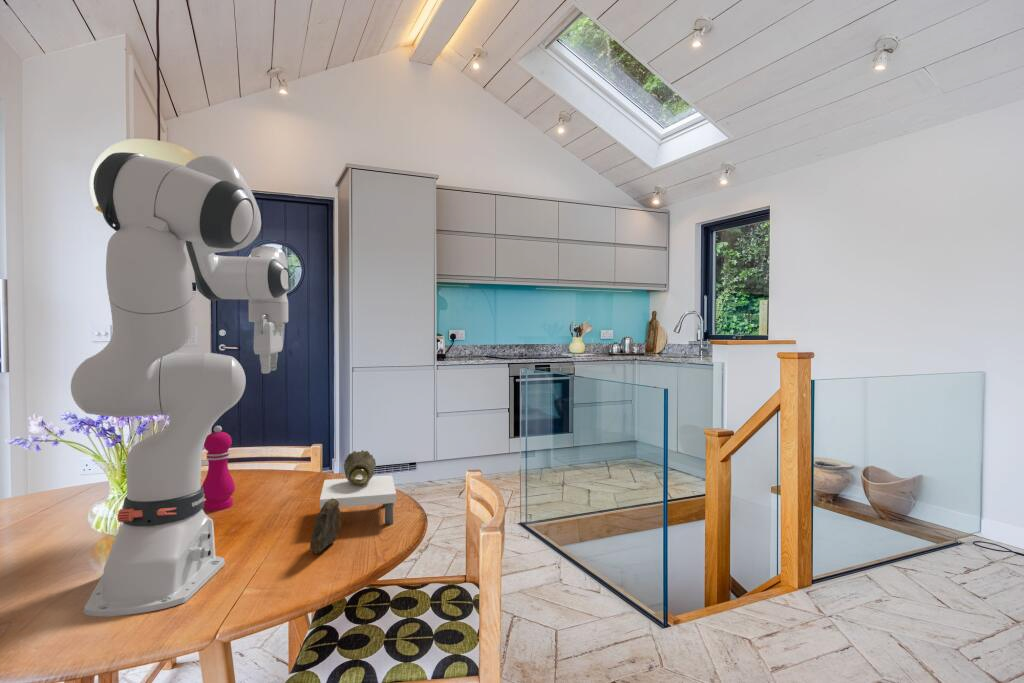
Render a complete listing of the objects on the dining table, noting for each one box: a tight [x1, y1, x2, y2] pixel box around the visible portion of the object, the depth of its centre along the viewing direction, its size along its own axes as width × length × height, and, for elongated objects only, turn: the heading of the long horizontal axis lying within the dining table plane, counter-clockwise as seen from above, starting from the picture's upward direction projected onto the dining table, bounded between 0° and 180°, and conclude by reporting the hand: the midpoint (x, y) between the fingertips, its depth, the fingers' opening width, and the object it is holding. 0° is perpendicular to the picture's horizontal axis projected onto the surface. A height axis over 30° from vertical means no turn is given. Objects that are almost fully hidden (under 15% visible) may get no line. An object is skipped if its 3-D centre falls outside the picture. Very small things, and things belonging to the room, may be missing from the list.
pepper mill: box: [201, 425, 236, 512], centre depth 131 cm, size 7×7×20 cm
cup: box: [343, 450, 377, 485], centre depth 126 cm, size 8×7×8 cm
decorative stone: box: [309, 498, 342, 555], centre depth 105 cm, size 10×9×4 cm
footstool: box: [319, 474, 397, 526], centre depth 125 cm, size 16×16×7 cm
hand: (269, 371), depth 131 cm, fingers open, 8 cm apart
